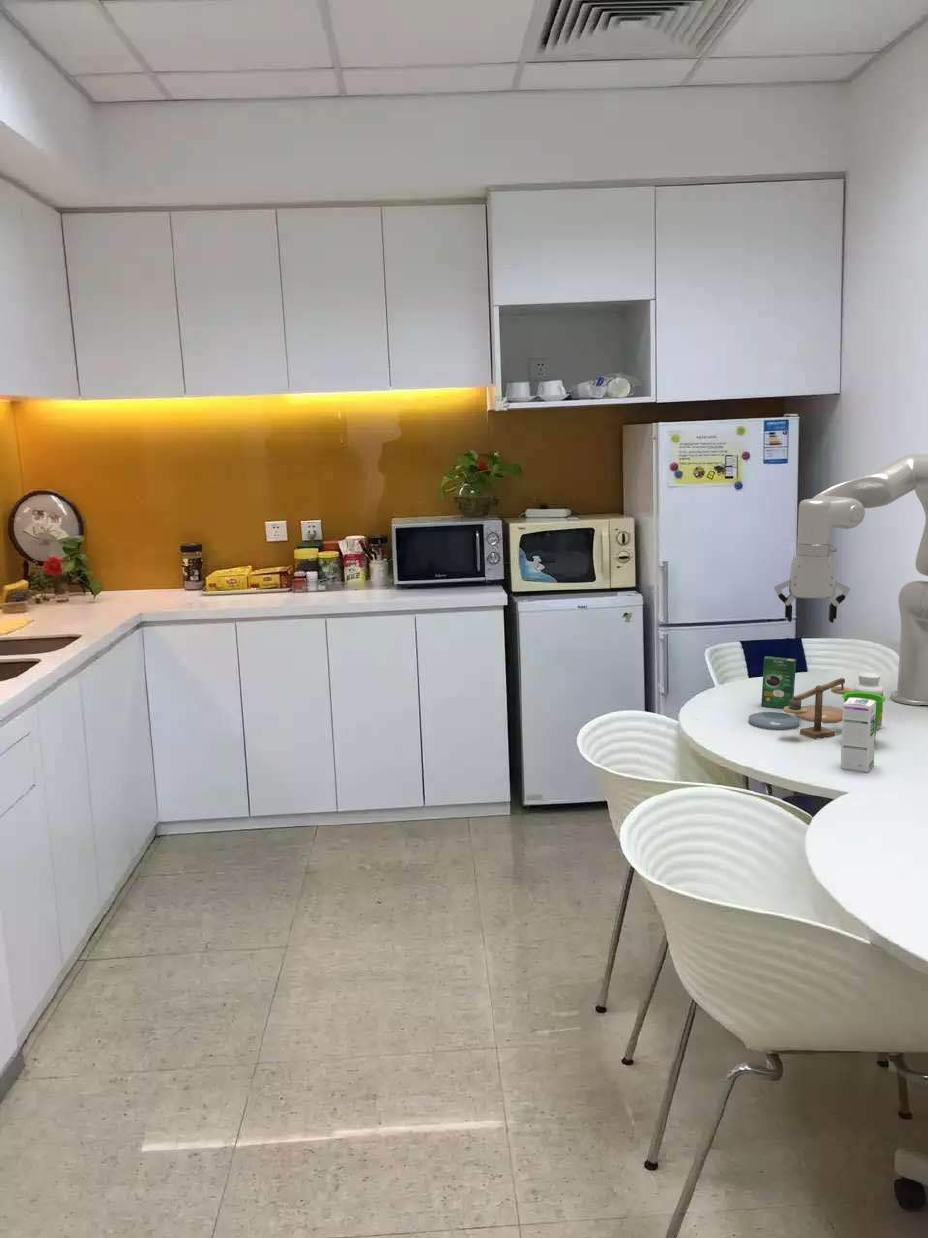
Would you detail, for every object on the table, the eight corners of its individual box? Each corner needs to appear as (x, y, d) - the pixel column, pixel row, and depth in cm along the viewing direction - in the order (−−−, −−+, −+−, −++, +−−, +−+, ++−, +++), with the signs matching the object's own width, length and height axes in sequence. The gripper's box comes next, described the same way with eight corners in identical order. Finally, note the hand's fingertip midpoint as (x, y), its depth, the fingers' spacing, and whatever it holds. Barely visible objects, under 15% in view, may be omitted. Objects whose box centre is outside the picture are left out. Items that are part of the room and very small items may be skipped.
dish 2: (832, 708, 259) (832, 704, 258) (855, 721, 247) (855, 716, 247) (787, 710, 257) (788, 706, 257) (808, 723, 246) (808, 719, 246)
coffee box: (794, 707, 261) (797, 658, 258) (793, 710, 258) (795, 660, 256) (763, 704, 264) (764, 655, 262) (760, 706, 262) (762, 657, 260)
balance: (840, 727, 242) (843, 674, 240) (856, 732, 238) (858, 679, 236) (778, 737, 236) (780, 683, 233) (792, 743, 231) (794, 688, 229)
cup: (881, 739, 233) (883, 693, 231) (883, 750, 224) (886, 703, 222) (839, 736, 236) (842, 690, 234) (840, 747, 227) (842, 700, 225)
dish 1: (787, 715, 253) (787, 710, 253) (807, 729, 242) (808, 724, 241) (741, 717, 252) (741, 713, 252) (759, 731, 240) (760, 726, 240)
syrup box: (868, 773, 210) (872, 705, 208) (839, 768, 213) (842, 702, 211) (874, 765, 215) (877, 699, 212) (845, 761, 218) (848, 696, 215)
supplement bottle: (884, 731, 239) (887, 678, 236) (854, 730, 240) (857, 678, 238) (878, 723, 245) (881, 672, 243) (849, 722, 246) (852, 671, 244)
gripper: (849, 549, 242) (845, 619, 245) (774, 548, 246) (771, 617, 249) (854, 553, 235) (850, 624, 238) (777, 552, 239) (774, 623, 242)
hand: (810, 621), depth 244 cm, fingers open, 9 cm apart
